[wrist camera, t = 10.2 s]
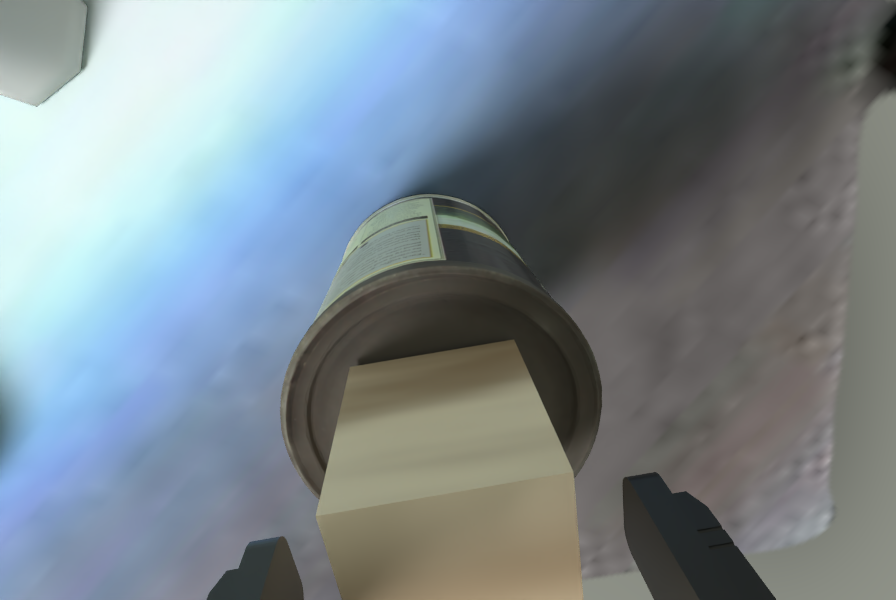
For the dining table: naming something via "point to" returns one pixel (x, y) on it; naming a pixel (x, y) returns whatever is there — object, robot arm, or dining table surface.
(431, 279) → the coffee can
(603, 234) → the dining table surface
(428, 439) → the maple block
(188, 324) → the dining table surface
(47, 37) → the flask
